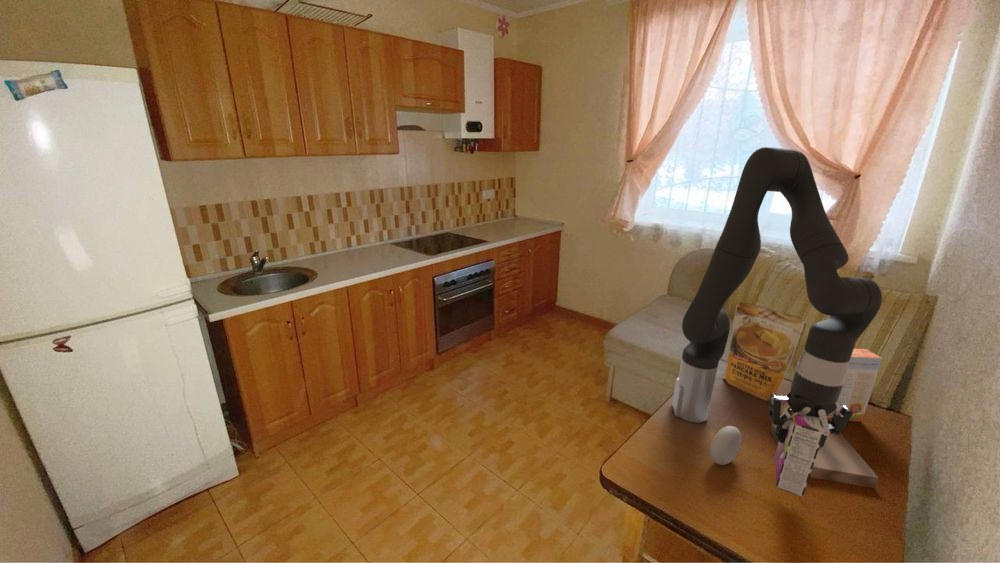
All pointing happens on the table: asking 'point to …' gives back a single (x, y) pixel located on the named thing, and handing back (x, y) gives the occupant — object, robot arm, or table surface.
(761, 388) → the pancake mix bag
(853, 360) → the cracker box
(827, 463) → the metal panel
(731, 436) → the white oval stone
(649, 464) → the table surface
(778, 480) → the candy bar box
